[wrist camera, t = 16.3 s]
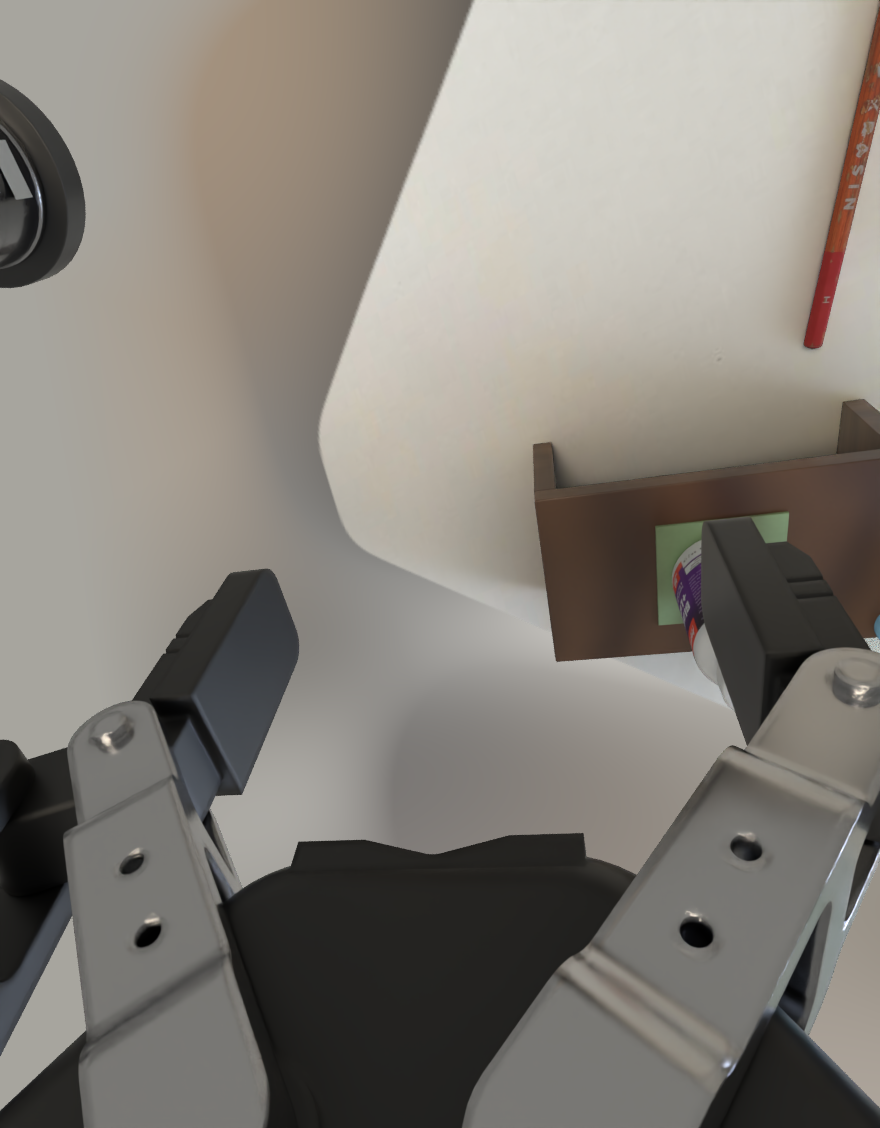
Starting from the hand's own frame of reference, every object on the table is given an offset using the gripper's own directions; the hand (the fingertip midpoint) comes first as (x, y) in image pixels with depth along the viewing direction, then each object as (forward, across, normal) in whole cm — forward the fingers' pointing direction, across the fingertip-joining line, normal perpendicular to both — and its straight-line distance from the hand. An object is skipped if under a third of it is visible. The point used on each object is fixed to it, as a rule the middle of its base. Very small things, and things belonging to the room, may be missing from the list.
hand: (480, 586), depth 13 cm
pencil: (+32, -18, -2) cm, 37 cm away
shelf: (+32, -10, +17) cm, 38 cm away
